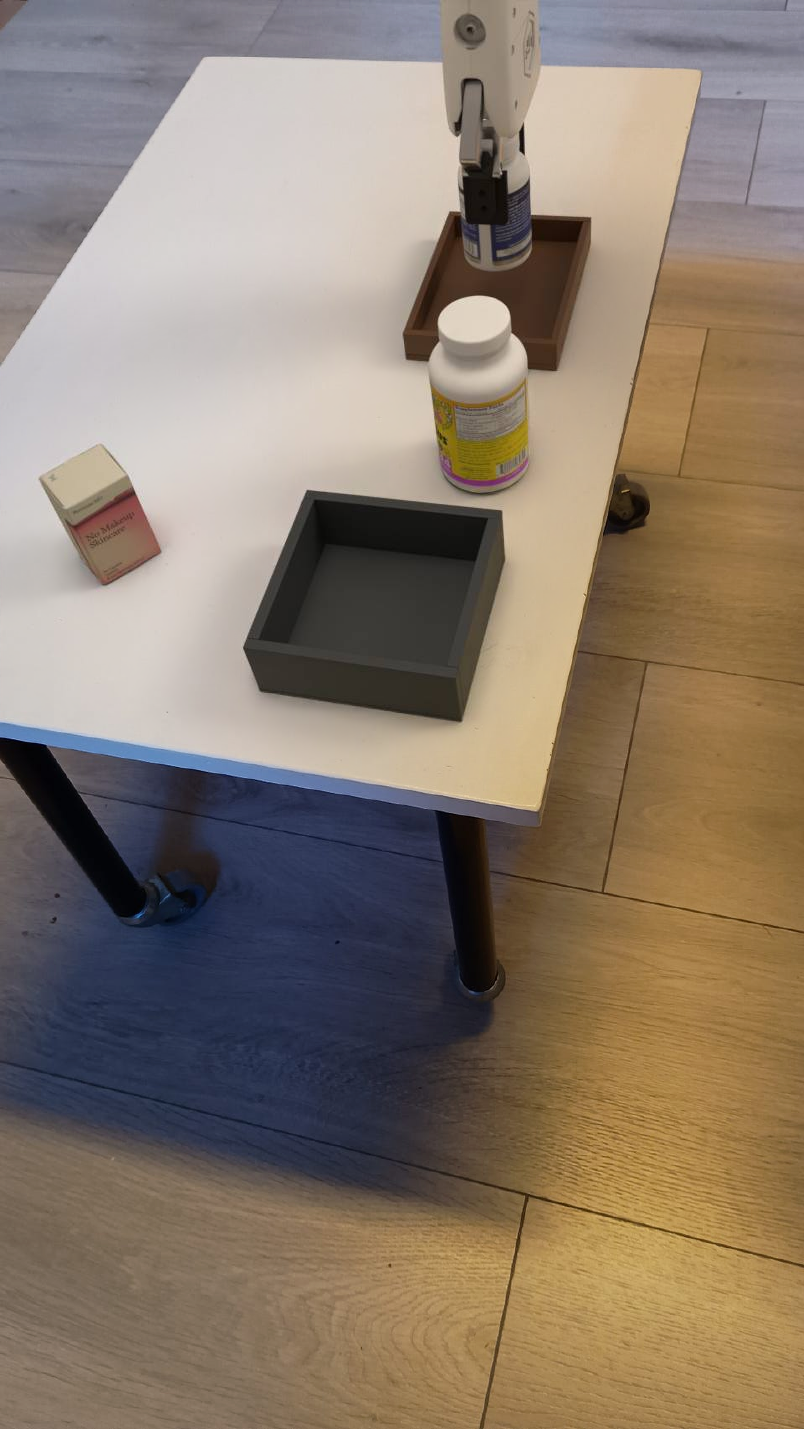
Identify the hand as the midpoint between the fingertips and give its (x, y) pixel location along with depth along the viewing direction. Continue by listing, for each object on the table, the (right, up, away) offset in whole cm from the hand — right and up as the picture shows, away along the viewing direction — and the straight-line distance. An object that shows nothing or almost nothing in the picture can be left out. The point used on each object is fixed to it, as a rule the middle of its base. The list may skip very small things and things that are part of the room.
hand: (496, 195), depth 84 cm
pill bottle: (+1, -3, +4) cm, 5 cm away
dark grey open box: (-8, -33, -9) cm, 36 cm away
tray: (+1, -5, +8) cm, 9 cm away
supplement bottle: (-1, -21, -2) cm, 21 cm away
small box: (-28, -28, -3) cm, 39 cm away
